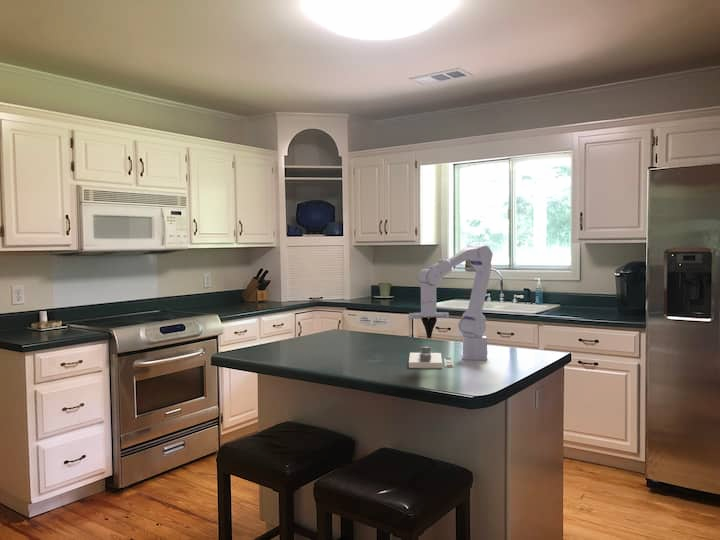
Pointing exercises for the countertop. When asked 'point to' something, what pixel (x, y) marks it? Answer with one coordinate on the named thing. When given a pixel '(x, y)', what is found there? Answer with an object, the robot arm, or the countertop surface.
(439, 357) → the board
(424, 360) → the button
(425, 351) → the button
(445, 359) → the card
